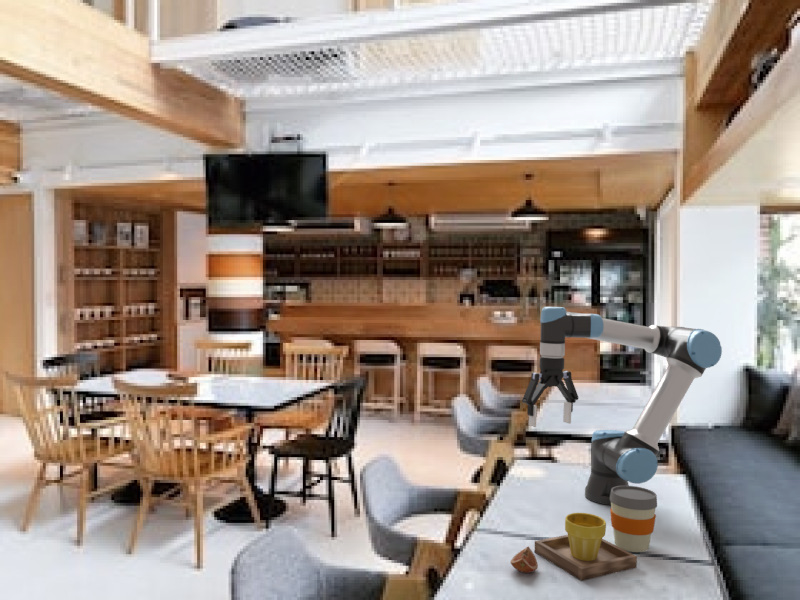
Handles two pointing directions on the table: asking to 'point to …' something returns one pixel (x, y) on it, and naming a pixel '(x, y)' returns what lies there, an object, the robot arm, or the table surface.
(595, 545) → the plant pot
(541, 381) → the robot arm
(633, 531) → the reusable coffee cup
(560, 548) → the walnut tray
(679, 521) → the table surface
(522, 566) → the fruit slice
